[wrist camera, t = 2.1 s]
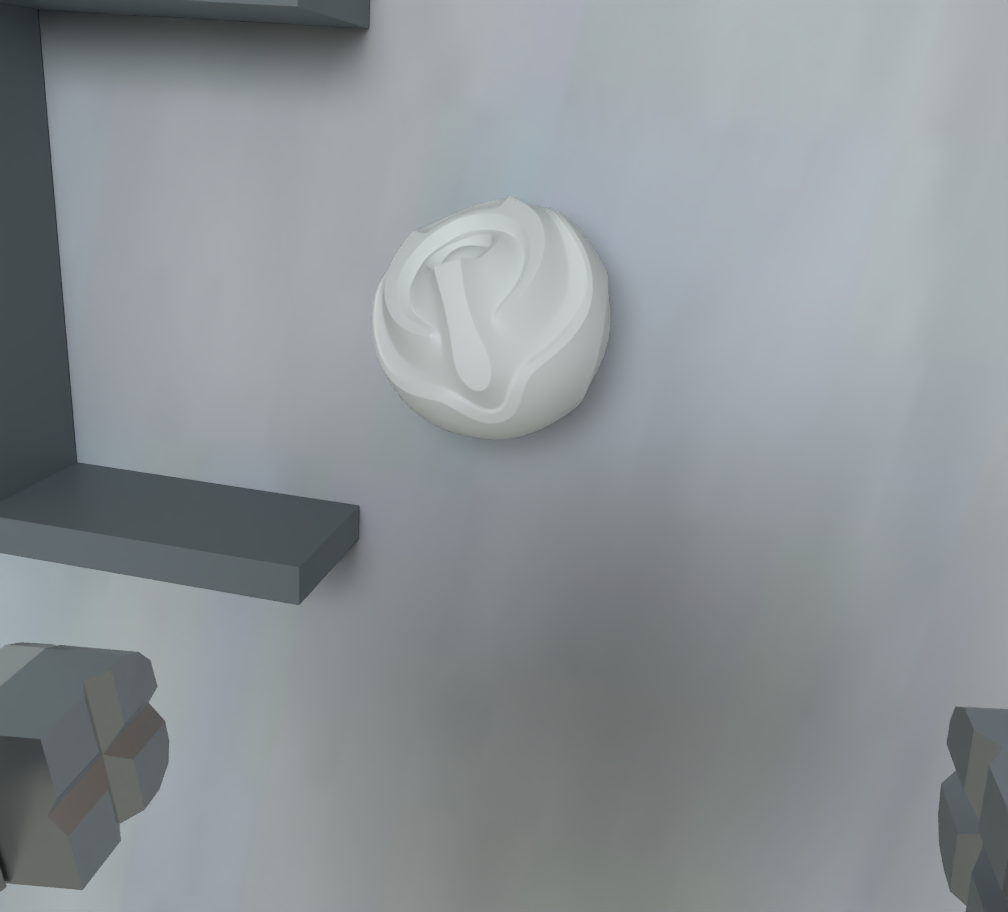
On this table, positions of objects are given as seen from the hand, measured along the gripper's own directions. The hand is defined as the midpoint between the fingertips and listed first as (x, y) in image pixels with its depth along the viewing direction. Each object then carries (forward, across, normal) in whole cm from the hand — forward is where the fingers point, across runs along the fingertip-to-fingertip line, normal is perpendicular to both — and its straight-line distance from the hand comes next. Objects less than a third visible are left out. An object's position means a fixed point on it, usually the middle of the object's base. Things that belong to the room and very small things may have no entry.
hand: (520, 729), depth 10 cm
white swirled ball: (+26, -5, -1) cm, 27 cm away
